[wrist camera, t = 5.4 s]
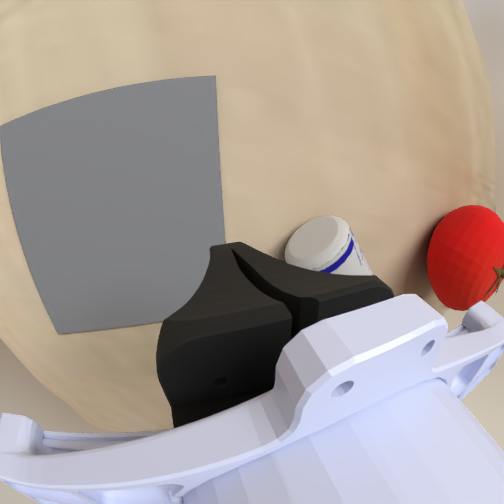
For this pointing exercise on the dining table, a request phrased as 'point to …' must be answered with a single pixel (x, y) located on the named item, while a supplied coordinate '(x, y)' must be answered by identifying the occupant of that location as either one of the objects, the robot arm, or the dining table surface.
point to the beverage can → (326, 247)
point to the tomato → (466, 256)
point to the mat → (117, 200)
